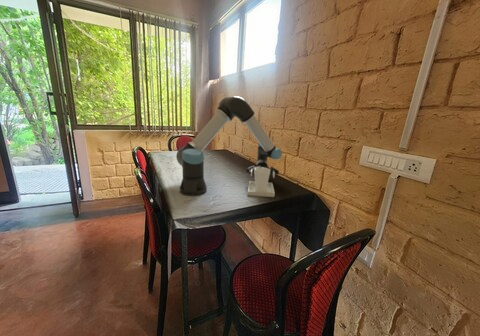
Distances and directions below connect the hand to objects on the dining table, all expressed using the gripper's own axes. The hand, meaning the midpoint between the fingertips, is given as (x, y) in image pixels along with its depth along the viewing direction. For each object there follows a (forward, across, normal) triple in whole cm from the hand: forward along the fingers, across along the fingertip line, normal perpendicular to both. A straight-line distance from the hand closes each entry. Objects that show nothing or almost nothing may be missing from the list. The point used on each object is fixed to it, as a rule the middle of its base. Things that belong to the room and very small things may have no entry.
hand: (262, 174), depth 121 cm
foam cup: (+2, 0, -9) cm, 9 cm away
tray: (+1, 0, -10) cm, 10 cm away
